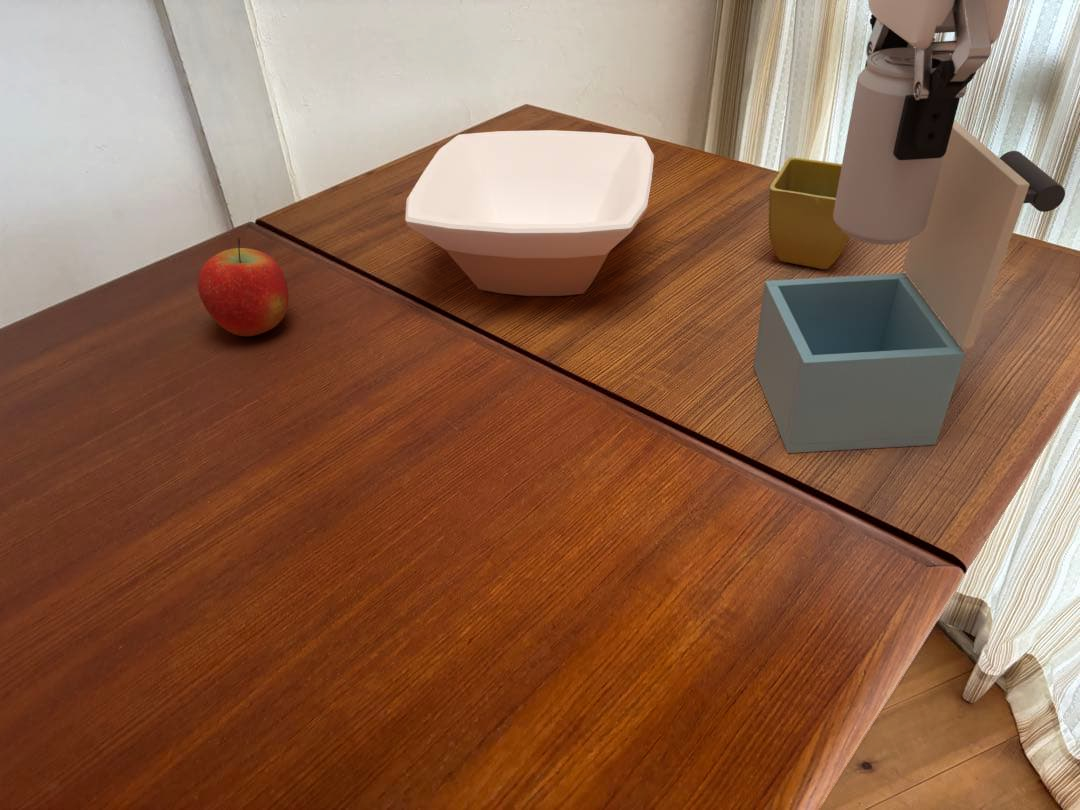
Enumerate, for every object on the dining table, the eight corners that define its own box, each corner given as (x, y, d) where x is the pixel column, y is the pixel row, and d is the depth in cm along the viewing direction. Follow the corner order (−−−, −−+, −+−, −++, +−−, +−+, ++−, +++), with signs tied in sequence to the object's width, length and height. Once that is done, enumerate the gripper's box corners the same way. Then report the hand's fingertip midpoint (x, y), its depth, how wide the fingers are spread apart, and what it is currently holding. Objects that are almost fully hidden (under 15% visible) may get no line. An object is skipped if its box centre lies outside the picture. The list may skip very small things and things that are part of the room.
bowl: (402, 322, 85) (386, 225, 78) (459, 213, 104) (449, 127, 97) (640, 334, 81) (644, 234, 75) (654, 218, 100) (657, 130, 94)
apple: (212, 318, 87) (182, 230, 81) (292, 301, 89) (268, 213, 83) (217, 360, 81) (185, 268, 75) (302, 341, 83) (277, 250, 77)
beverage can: (924, 254, 58) (971, 77, 51) (827, 244, 60) (859, 70, 53) (923, 214, 63) (966, 46, 56) (833, 205, 65) (863, 41, 57)
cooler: (787, 453, 67) (804, 362, 62) (752, 366, 76) (764, 280, 71) (935, 445, 67) (965, 353, 62) (883, 359, 76) (905, 272, 71)
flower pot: (858, 245, 93) (874, 167, 87) (842, 283, 87) (859, 201, 81) (777, 232, 96) (788, 155, 91) (757, 267, 90) (768, 188, 84)
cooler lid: (1018, 184, 53) (1102, 180, 54) (942, 118, 63) (1014, 115, 63) (961, 348, 61) (1035, 345, 61) (901, 268, 71) (966, 265, 71)
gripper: (1129, -175, 39) (1013, 187, 51) (968, -198, 53) (905, 91, 64) (968, -166, 39) (887, 194, 51) (849, -191, 53) (806, 97, 64)
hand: (898, 134), depth 57 cm, fingers closed on beverage can, 6 cm apart
